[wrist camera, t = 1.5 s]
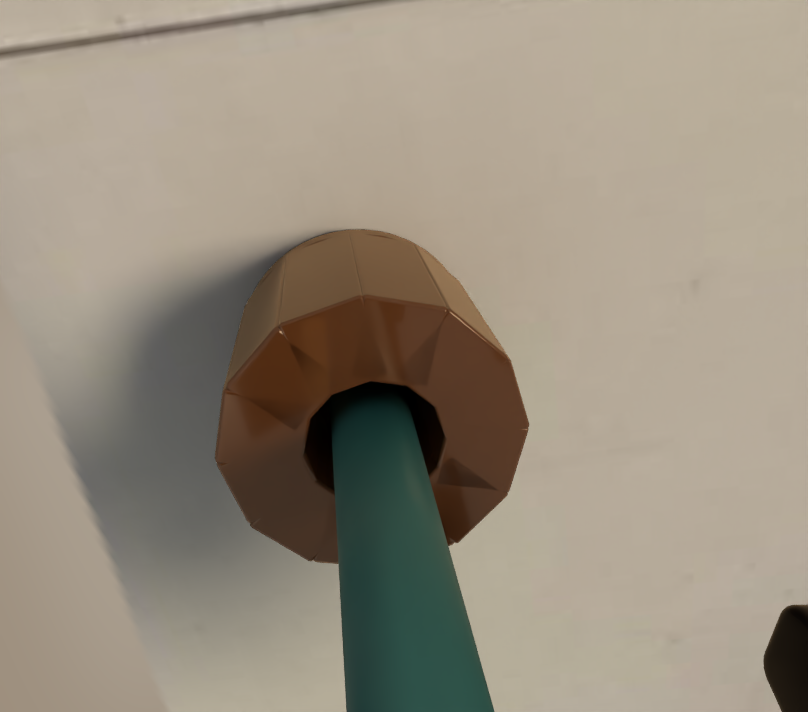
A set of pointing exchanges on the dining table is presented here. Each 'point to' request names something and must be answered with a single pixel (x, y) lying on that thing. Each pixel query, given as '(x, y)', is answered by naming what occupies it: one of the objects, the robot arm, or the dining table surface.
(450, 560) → the stylus
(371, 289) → the pen stand
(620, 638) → the dining table surface
